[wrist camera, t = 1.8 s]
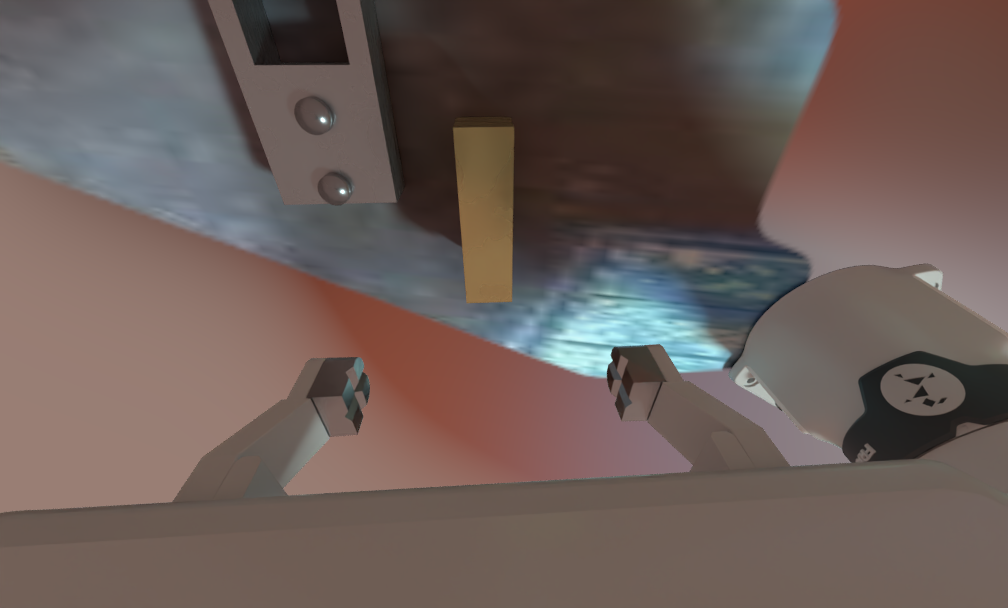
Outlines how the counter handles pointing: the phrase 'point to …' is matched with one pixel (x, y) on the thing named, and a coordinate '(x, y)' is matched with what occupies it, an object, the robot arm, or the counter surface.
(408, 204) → the counter surface
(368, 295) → the counter surface
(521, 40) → the counter surface
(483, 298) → the tan bridge block
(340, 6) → the gray windowed bar
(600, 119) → the counter surface
